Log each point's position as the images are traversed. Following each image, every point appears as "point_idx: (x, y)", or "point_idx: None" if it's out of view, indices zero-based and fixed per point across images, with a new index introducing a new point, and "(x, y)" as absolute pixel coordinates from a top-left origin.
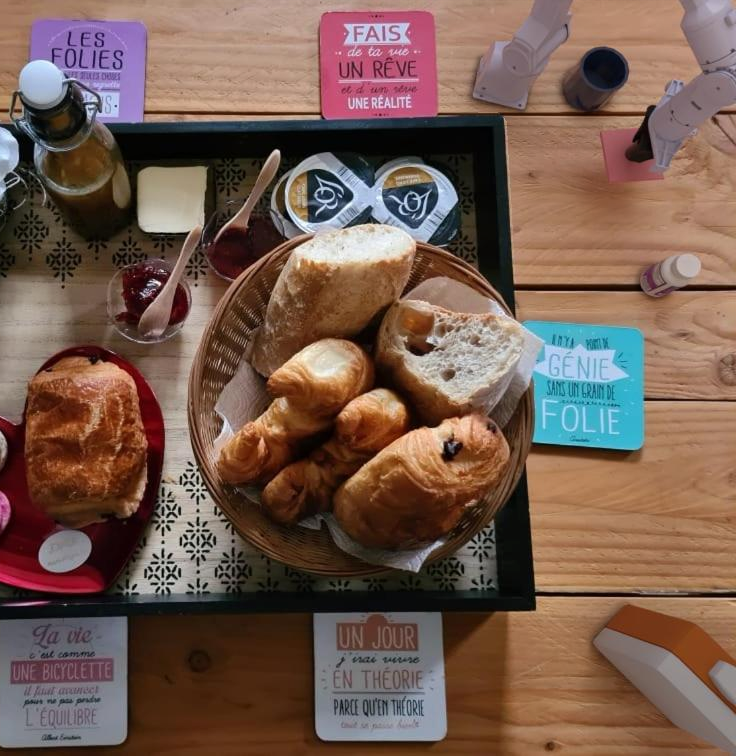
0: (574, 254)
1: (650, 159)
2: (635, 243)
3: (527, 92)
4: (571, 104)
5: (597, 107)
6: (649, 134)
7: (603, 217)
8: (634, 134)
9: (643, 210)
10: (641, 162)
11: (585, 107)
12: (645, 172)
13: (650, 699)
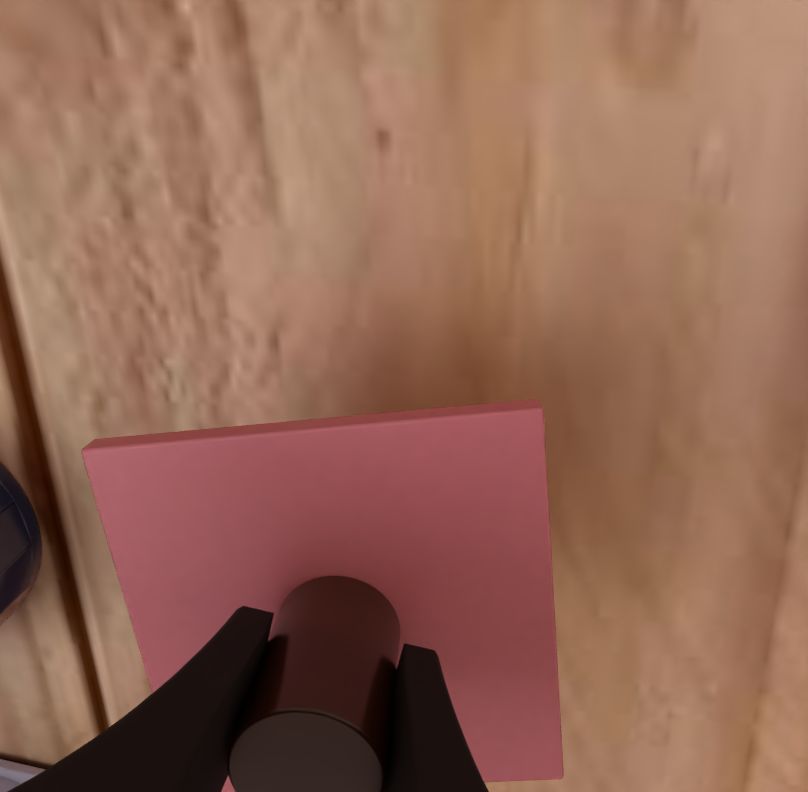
0: (801, 636)
1: (466, 743)
2: (789, 332)
3: (9, 772)
4: (20, 601)
5: (7, 516)
6: (205, 777)
7: (614, 491)
8: (173, 602)
9: (586, 272)
10: (441, 668)
11: (21, 571)
12: (489, 548)
13: None
